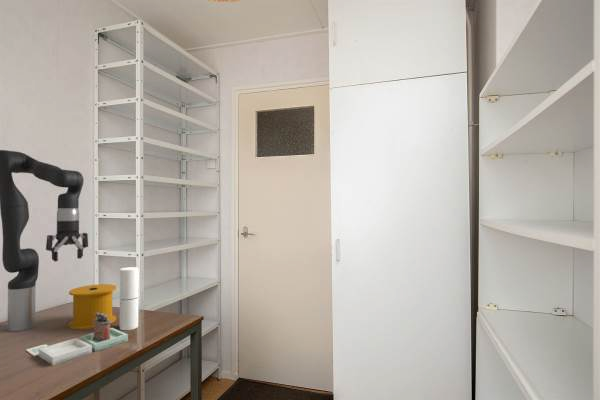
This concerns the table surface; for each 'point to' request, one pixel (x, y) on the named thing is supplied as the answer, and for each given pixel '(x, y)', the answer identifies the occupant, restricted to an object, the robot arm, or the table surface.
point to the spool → (91, 304)
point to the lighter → (101, 327)
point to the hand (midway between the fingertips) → (67, 259)
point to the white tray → (65, 351)
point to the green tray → (115, 339)
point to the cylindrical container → (129, 298)
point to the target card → (35, 350)
